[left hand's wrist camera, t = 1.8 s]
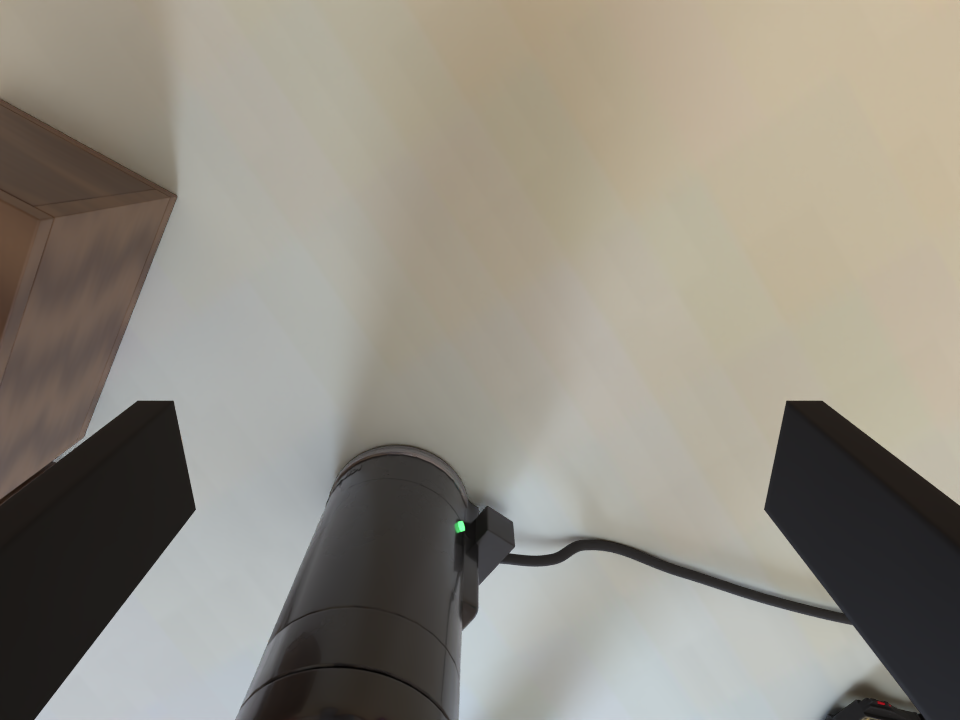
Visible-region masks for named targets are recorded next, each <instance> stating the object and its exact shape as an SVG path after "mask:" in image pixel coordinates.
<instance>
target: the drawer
mask: <svg viewBox="0 0 960 720" xmlns="http://www.w3.org/2000/svg"><path fill="white" fill-rule="evenodd" d="M54 464H56V463H55V462H53V461H51V462H50V463H49V464H47V465H46V466H45V467H43V468H42V469H41V470H39V471H38V472H37V473H35V474H34V475H33V476H31V477H30V478H28V479H27V480H26V481H24V482H23V483H22V484H20V485H19V486H18V487H16V488H15V489H14V490H12V491H11V492H10V493H8V494H7V495H6V496H4V497H3V498H1V499H0V506H1V505H2V504H3V503H4V502H6V501H7V500H8V499H10V498H11V497H12V496H14V495H15V494H16V493H18V492H19V491H20V490H22V489H23V488H24V487H25V486H27V485H28V484H29V483H31V482H32V481H33V480H35V479H36V478H37V477H39V476H40V475H41V474H42V473H44V472H45V471H46V470H48V469H49V468H50V467H52V466H53V465H54Z"/></svg>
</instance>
